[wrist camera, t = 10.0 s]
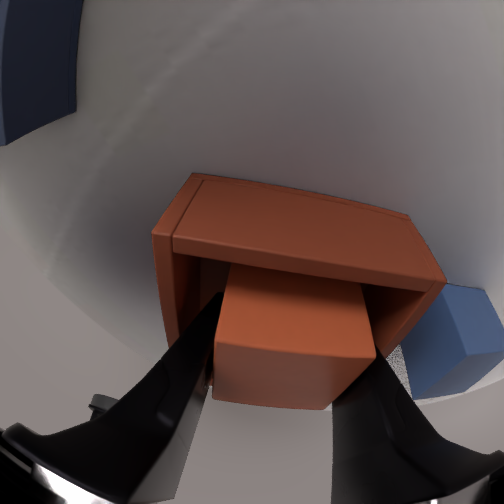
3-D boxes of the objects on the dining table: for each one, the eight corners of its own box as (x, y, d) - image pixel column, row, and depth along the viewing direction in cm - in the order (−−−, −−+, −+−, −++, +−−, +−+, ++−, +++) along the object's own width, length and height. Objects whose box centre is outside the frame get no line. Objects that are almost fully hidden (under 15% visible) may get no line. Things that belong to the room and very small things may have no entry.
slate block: (397, 334, 13) (412, 400, 10) (436, 281, 10) (467, 355, 7) (446, 335, 13) (463, 392, 10) (484, 289, 10) (513, 349, 7)
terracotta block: (228, 312, 11) (211, 399, 8) (237, 236, 9) (213, 340, 6) (318, 325, 11) (323, 410, 8) (353, 256, 9) (378, 357, 6)
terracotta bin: (192, 318, 13) (175, 378, 10) (191, 172, 8) (150, 232, 6) (339, 338, 13) (345, 398, 10) (408, 214, 8) (448, 281, 6)
